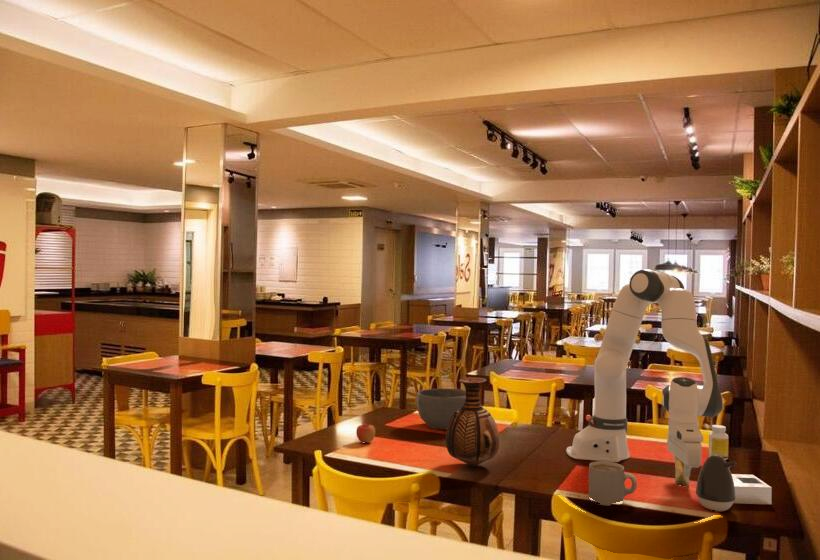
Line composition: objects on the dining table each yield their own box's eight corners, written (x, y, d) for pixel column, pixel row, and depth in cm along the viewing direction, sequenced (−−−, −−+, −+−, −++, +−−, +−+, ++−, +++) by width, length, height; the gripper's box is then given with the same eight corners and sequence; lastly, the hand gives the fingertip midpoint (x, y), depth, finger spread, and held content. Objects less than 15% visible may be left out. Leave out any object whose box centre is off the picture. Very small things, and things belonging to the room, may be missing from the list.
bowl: (412, 420, 294) (412, 387, 294) (466, 420, 297) (466, 386, 297) (419, 434, 270) (419, 398, 270) (477, 433, 272) (478, 397, 272)
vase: (507, 475, 218) (508, 384, 217) (453, 477, 215) (454, 385, 214) (488, 456, 239) (489, 373, 238) (439, 458, 236) (440, 374, 235)
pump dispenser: (729, 518, 182) (730, 463, 182) (690, 508, 189) (691, 455, 189) (740, 508, 190) (741, 455, 189) (702, 499, 196) (703, 448, 196)
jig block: (722, 502, 194) (722, 485, 194) (706, 489, 206) (706, 473, 206) (771, 504, 193) (771, 487, 193) (752, 490, 205) (752, 474, 205)
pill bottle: (730, 461, 237) (730, 429, 237) (710, 460, 238) (711, 427, 238) (725, 456, 243) (726, 424, 243) (706, 455, 244) (707, 423, 244)
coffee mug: (586, 502, 193) (586, 468, 193) (591, 492, 202) (591, 459, 202) (634, 509, 187) (635, 474, 187) (637, 498, 196) (638, 465, 196)
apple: (378, 443, 255) (379, 423, 255) (362, 446, 251) (362, 425, 251) (369, 439, 261) (369, 419, 261) (352, 442, 257) (353, 421, 257)
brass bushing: (677, 486, 208) (678, 461, 208) (673, 482, 212) (673, 457, 212) (690, 486, 208) (691, 461, 208) (686, 482, 212) (686, 457, 212)
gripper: (662, 422, 220) (661, 463, 221) (684, 437, 200) (683, 483, 200) (681, 422, 220) (681, 463, 220) (705, 438, 200) (705, 483, 200)
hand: (682, 473), depth 210 cm, fingers open, 5 cm apart
